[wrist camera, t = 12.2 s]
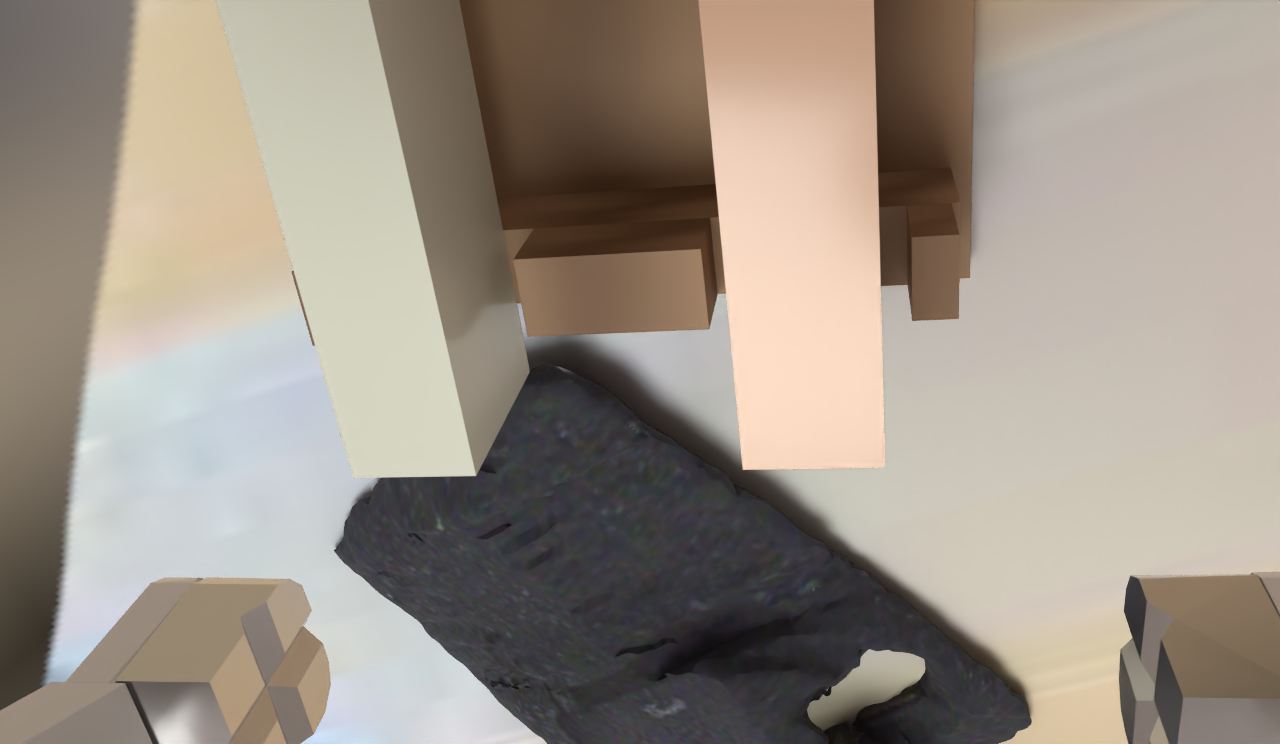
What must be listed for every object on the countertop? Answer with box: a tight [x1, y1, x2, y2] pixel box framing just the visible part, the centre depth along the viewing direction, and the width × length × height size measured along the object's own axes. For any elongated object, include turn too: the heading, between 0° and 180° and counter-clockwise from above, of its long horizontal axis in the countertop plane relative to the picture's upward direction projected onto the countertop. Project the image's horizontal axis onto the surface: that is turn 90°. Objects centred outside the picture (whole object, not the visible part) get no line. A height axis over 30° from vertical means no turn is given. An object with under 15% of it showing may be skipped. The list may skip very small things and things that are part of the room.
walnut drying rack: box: [292, 0, 975, 346], centre depth 26 cm, size 17×14×6 cm
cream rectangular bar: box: [216, 0, 530, 478], centre depth 24 cm, size 16×3×5 cm, turn 7°
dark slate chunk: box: [334, 365, 1032, 744], centre depth 36 cm, size 15×22×5 cm
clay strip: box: [698, 0, 885, 470], centre depth 22 cm, size 16×3×5 cm, turn 7°
